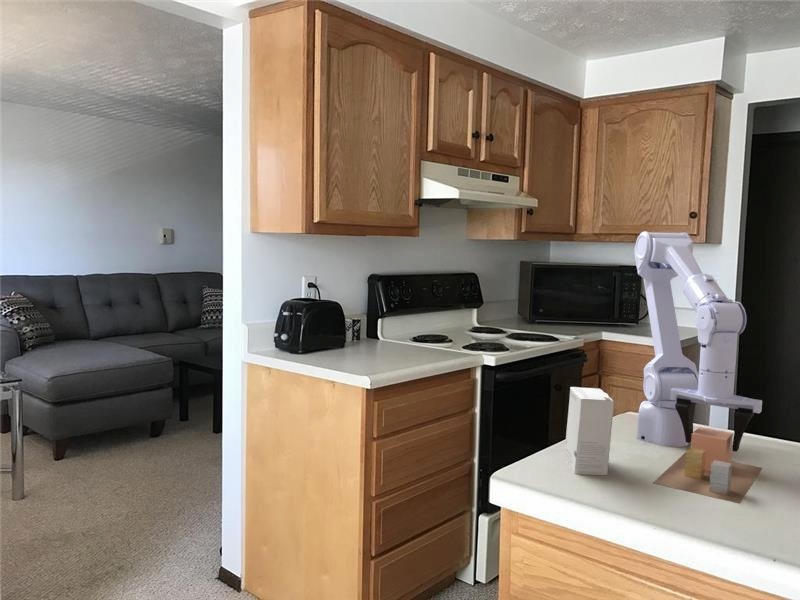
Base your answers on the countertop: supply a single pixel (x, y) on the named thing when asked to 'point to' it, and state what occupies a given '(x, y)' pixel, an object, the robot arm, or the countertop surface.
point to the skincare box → (588, 431)
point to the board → (739, 480)
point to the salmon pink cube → (713, 445)
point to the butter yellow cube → (695, 462)
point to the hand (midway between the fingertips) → (711, 445)
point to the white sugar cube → (720, 477)
